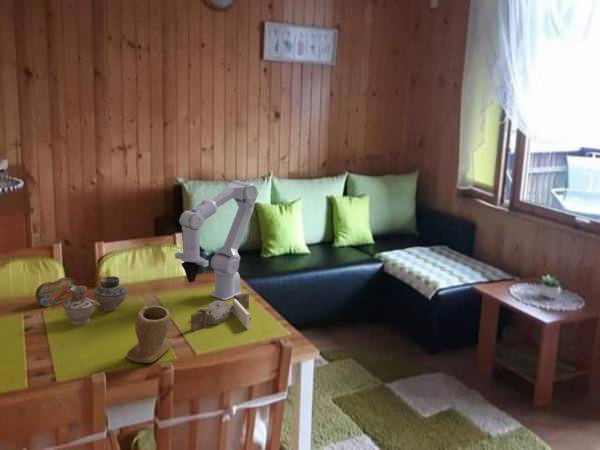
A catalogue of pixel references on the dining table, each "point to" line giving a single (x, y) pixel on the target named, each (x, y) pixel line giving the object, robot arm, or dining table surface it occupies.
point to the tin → (55, 291)
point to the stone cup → (151, 334)
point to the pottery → (105, 295)
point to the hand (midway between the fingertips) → (191, 281)
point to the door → (241, 313)
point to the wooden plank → (200, 317)
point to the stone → (217, 312)
